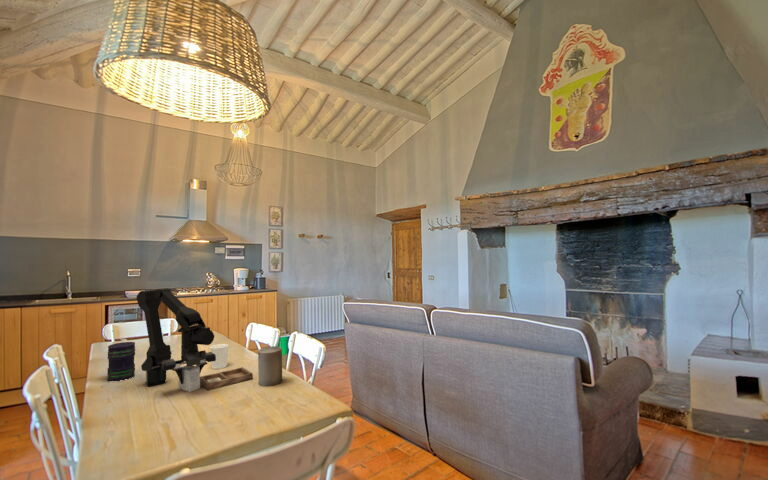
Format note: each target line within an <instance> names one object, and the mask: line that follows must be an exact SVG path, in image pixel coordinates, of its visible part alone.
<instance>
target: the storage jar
mask: <svg viewBox="0 0 768 480" xmlns="http://www.w3.org/2000/svg"><path fill="white" fill-rule="evenodd" d="M135 345H136V342H134V341H125V342H123V341H121V342H117V343H113V344H110V345H107V348H108V350H107V360H108V367H107V382H110V381H117V382H121V381H120V380H123V381H126V380H125V379H127V380H130V379H132V377H133V378H135V371H136V364H135V355H136V346H135ZM129 378H130V379H129Z"/></svg>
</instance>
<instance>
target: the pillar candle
mask: <svg viewBox="0 0 768 480" xmlns="http://www.w3.org/2000/svg"><path fill="white" fill-rule="evenodd" d="M257 355H258V357H257V358H258V359H257V360H258V362H257V364H258V365H257V366H258V370H257V371H258V372H257V374H258V376H257V377H258V385H260V386H262V387H270V386H271V387H272V386H276V385H278V384H281V383H282V382H283V348H282V347H281V346H272V345H271V346H266V347H261V348H259V349H258V350H257Z"/></svg>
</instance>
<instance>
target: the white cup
mask: <svg viewBox="0 0 768 480" xmlns="http://www.w3.org/2000/svg"><path fill="white" fill-rule="evenodd" d="M209 349H210V351H209V352H212V353H214V354H215V355H216V361H212V362H211V369H213V370H220V369H224V368H226V367H228V358H229V344H228V343H218V344H214V345H211V346H210V348H209Z"/></svg>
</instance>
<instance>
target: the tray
mask: <svg viewBox="0 0 768 480" xmlns="http://www.w3.org/2000/svg"><path fill="white" fill-rule="evenodd" d="M253 379H254V377H253V373H252V372H251V371H249V370H248V369H246V368H245V367H239V368H238V367H237V368H234V369H230V370H229V369H228V370H225V371H219V372H215V373H211V374H205V375H202V376H201V375H200V386H203V387H204V389H206V390H207V391H210V390H215V389H217V388H223V387H227V386H231V385H234V384H240V383H241V382H242V383H243V382H247V381H251V380H253Z"/></svg>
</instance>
